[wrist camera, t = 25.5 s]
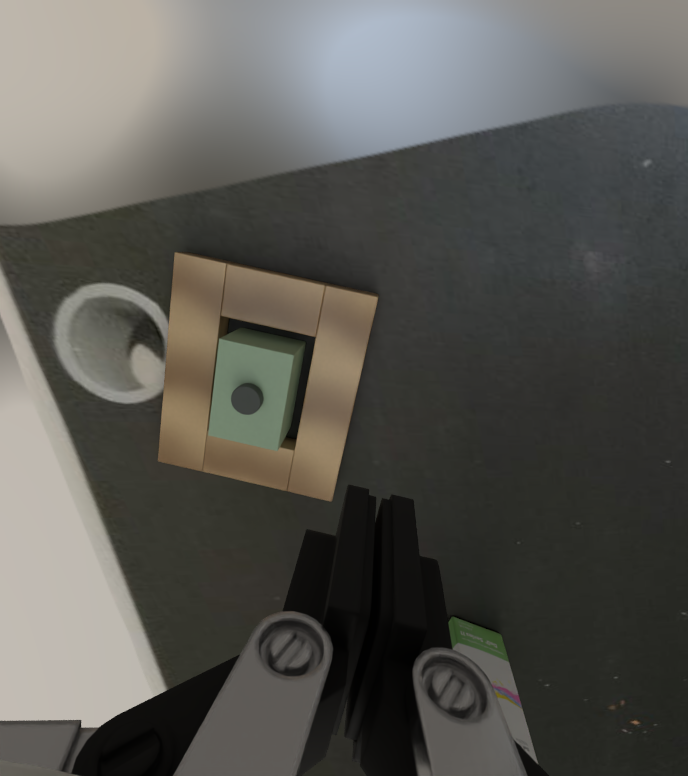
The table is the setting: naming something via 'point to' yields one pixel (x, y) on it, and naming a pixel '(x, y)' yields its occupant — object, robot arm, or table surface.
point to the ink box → (493, 673)
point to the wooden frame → (277, 310)
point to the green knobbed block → (255, 387)
